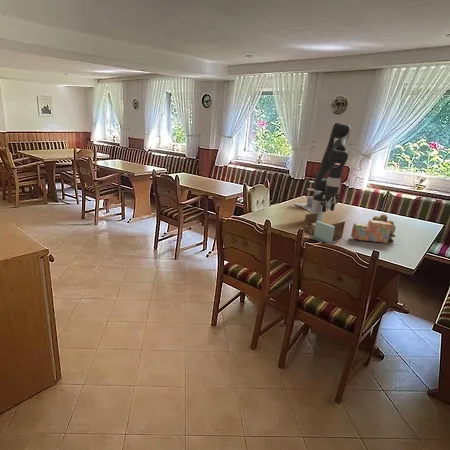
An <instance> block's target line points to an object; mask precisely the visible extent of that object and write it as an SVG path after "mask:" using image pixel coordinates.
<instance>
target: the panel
mask: <svg viewBox="0 0 450 450" xmlns="http://www.w3.org/2000/svg"><path fill="white" fill-rule="evenodd" d="M334 230H335V226H333V224H332V225H331V224H328V223H326V222H323V221H322V222H320V221H316V225H315V231H314V234H313V236H314V237H316V238H319V239H321V240H324V241H327V242H329V243H330V242H332V241H333V240H332V239H333V234H334Z"/></svg>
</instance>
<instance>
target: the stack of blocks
mask: <svg viewBox="0 0 450 450" xmlns="http://www.w3.org/2000/svg"><path fill="white" fill-rule="evenodd" d="M391 227H392V224H390V223H389V222H384V221H375V220H372V219H369V220H368V222H367V223H359V222H353V225H352V230H351V233H350V236H351V238H352V239H353V240H359V241H368V242H375V243H376V242H377V243H384V244H388V239H389V235H390V232H391Z"/></svg>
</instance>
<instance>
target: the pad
mask: <svg viewBox="0 0 450 450" xmlns="http://www.w3.org/2000/svg"><path fill="white" fill-rule="evenodd" d="M308 238H309V239H312V240H315V241H317V242H320V243H322V242H325V243H329V242H327V241H324V240H321V239H319V238H316V237H314V235H310V236H309V237H308ZM336 243H337V242H336V241H335V240H332V242H330V245H333V244H336Z"/></svg>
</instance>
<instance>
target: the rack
mask: <svg viewBox="0 0 450 450" xmlns="http://www.w3.org/2000/svg"><path fill="white" fill-rule="evenodd" d="M309 213H310V212H309ZM309 213H306V214H305V217H304V223H303V228H302V230H303V231H305V232H307V233H310V234H313V235H314V231H315V228H314V227H312V226H311V224H312V223H316V220H317V215H318V213H317V212H316V213H310V214H309ZM345 224H346V221H345V220H342V221H337V222H333V223H332V226H335V230H334V234H333V239H332V241H335V240H338V239H342V238H343V233H344V228H345Z"/></svg>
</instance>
